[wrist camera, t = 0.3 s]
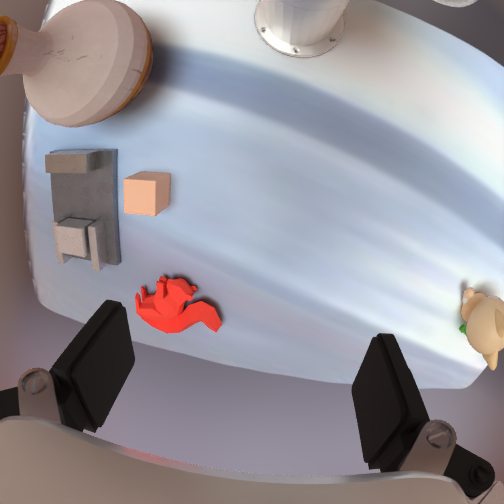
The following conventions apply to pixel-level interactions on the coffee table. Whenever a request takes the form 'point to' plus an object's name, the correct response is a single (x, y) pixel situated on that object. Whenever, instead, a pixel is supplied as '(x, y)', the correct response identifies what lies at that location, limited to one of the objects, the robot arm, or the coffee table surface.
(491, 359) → the kitten
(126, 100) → the jug
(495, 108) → the coffee table surface
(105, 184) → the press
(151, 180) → the block
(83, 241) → the light grey sliding block
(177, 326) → the animal figurine
